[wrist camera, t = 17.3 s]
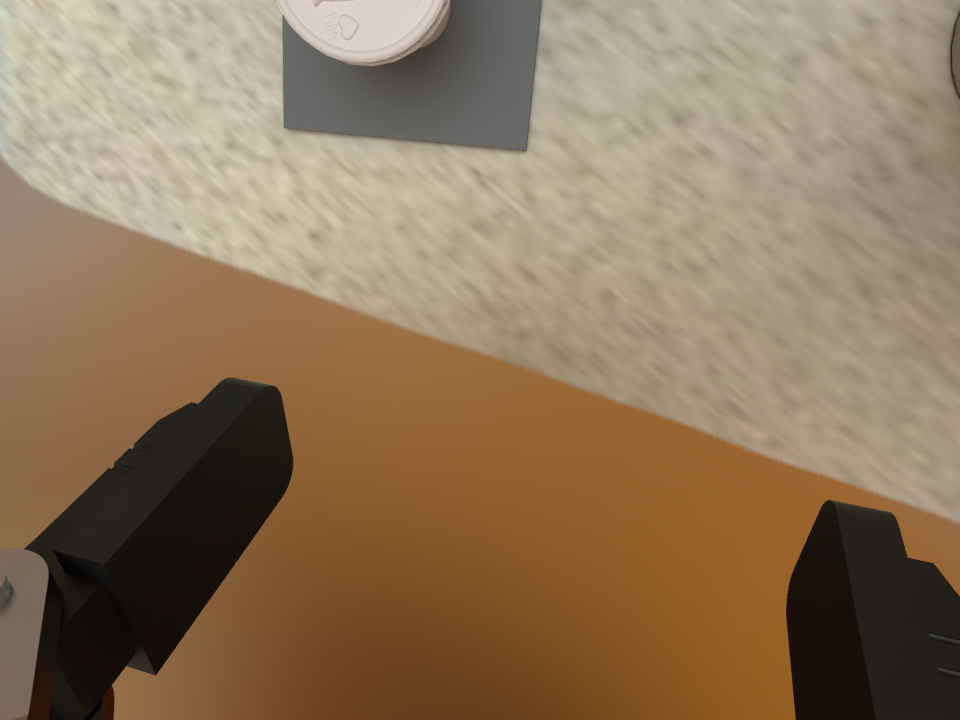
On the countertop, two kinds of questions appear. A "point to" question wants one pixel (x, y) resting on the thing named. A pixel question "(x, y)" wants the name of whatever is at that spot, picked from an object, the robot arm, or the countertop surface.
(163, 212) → the countertop surface
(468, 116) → the slate mat
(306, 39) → the smoothie
